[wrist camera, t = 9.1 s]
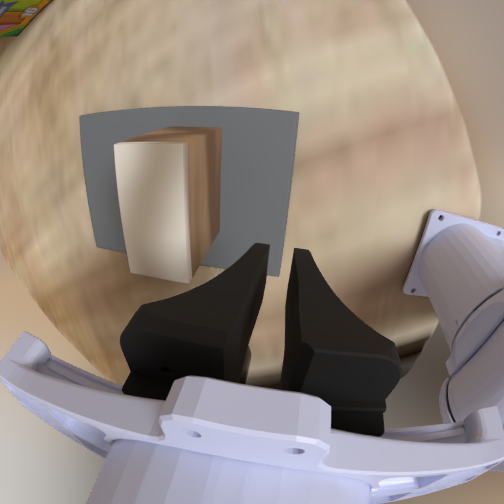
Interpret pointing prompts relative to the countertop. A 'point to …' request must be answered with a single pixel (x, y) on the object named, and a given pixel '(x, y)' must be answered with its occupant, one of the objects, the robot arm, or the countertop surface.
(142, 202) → the beige rectangular block
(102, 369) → the countertop surface
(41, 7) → the chalk box
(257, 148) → the slate mat
